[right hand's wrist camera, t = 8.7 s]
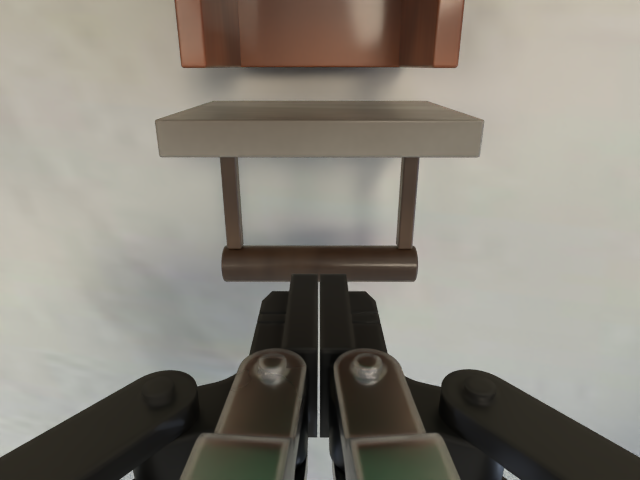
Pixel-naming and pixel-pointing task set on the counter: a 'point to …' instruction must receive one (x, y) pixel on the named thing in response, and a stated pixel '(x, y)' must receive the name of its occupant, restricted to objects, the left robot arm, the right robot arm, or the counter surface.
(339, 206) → the counter surface
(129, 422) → the right robot arm
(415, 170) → the drawer
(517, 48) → the counter surface
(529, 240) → the counter surface
